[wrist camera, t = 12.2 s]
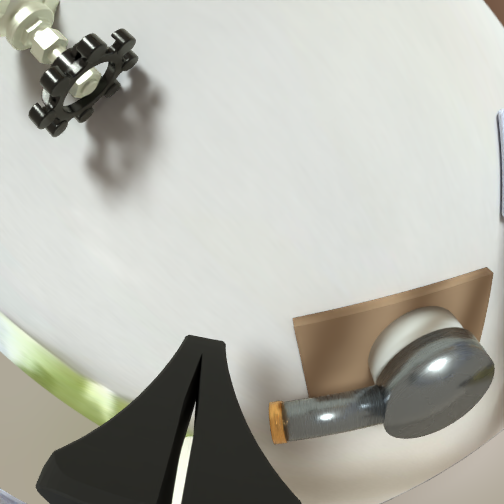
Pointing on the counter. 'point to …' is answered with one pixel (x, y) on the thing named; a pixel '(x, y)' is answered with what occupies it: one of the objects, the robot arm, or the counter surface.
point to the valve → (64, 62)
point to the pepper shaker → (182, 470)
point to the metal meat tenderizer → (398, 393)
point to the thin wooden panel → (384, 330)
